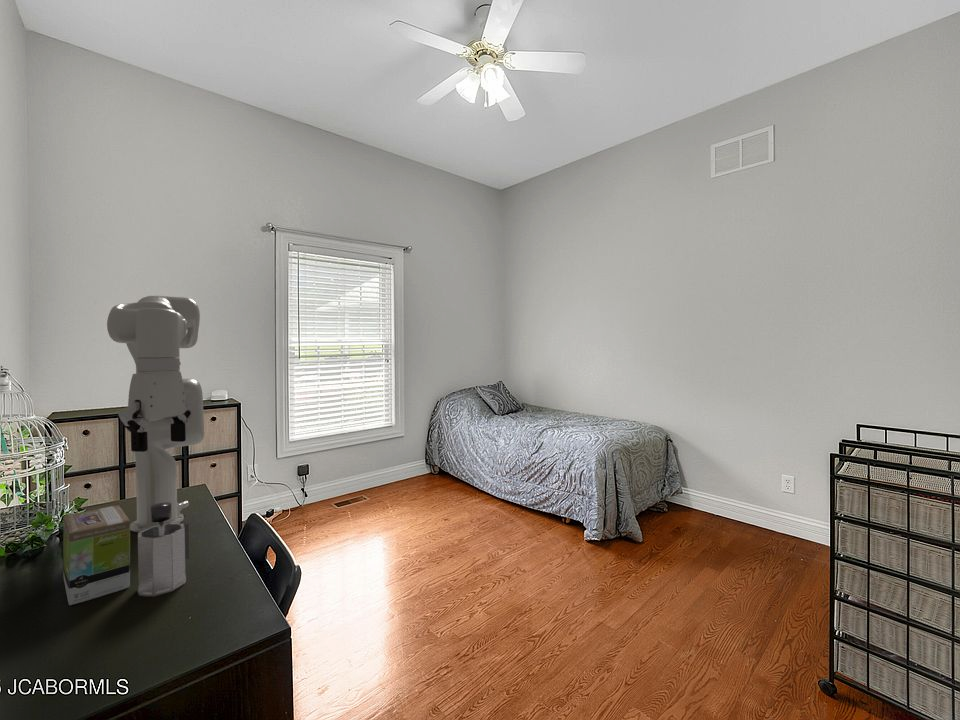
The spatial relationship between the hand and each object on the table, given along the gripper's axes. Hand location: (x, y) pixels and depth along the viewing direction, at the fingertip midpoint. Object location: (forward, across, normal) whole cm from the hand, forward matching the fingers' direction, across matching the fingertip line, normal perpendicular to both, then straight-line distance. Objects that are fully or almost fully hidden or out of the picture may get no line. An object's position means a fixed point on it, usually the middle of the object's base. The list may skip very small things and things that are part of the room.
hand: (159, 445), depth 93 cm
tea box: (+31, +1, -15) cm, 34 cm away
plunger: (+26, 0, 0) cm, 26 cm away
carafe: (+30, -1, 0) cm, 30 cm away
